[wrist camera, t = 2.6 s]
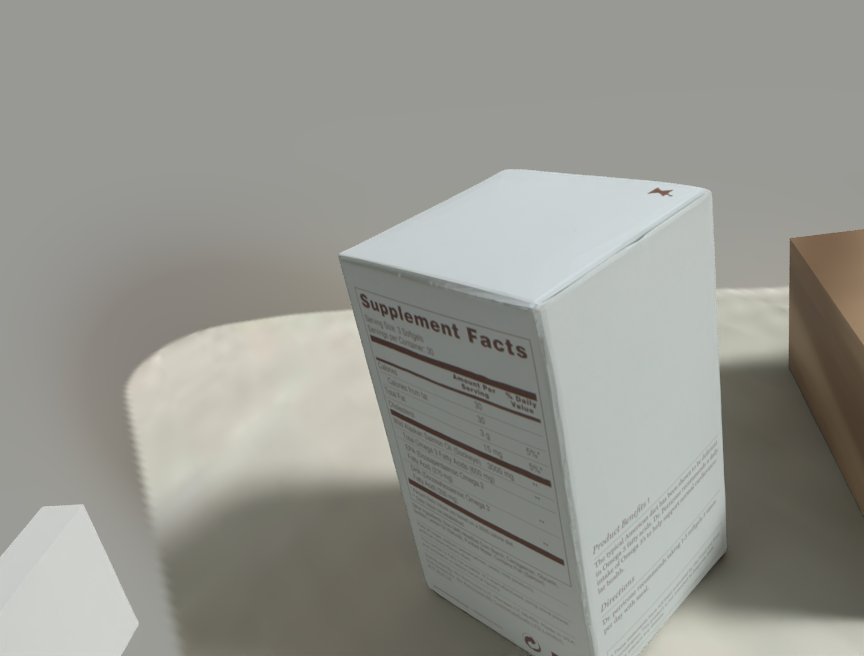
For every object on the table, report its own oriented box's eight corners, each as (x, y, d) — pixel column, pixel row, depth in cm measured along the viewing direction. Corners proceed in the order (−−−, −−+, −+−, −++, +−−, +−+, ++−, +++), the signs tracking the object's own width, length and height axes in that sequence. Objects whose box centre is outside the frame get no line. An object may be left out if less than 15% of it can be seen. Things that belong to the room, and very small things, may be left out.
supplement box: (556, 474, 31) (509, 161, 26) (734, 553, 26) (723, 182, 21) (419, 590, 27) (328, 248, 22) (597, 710, 22) (538, 301, 17)
